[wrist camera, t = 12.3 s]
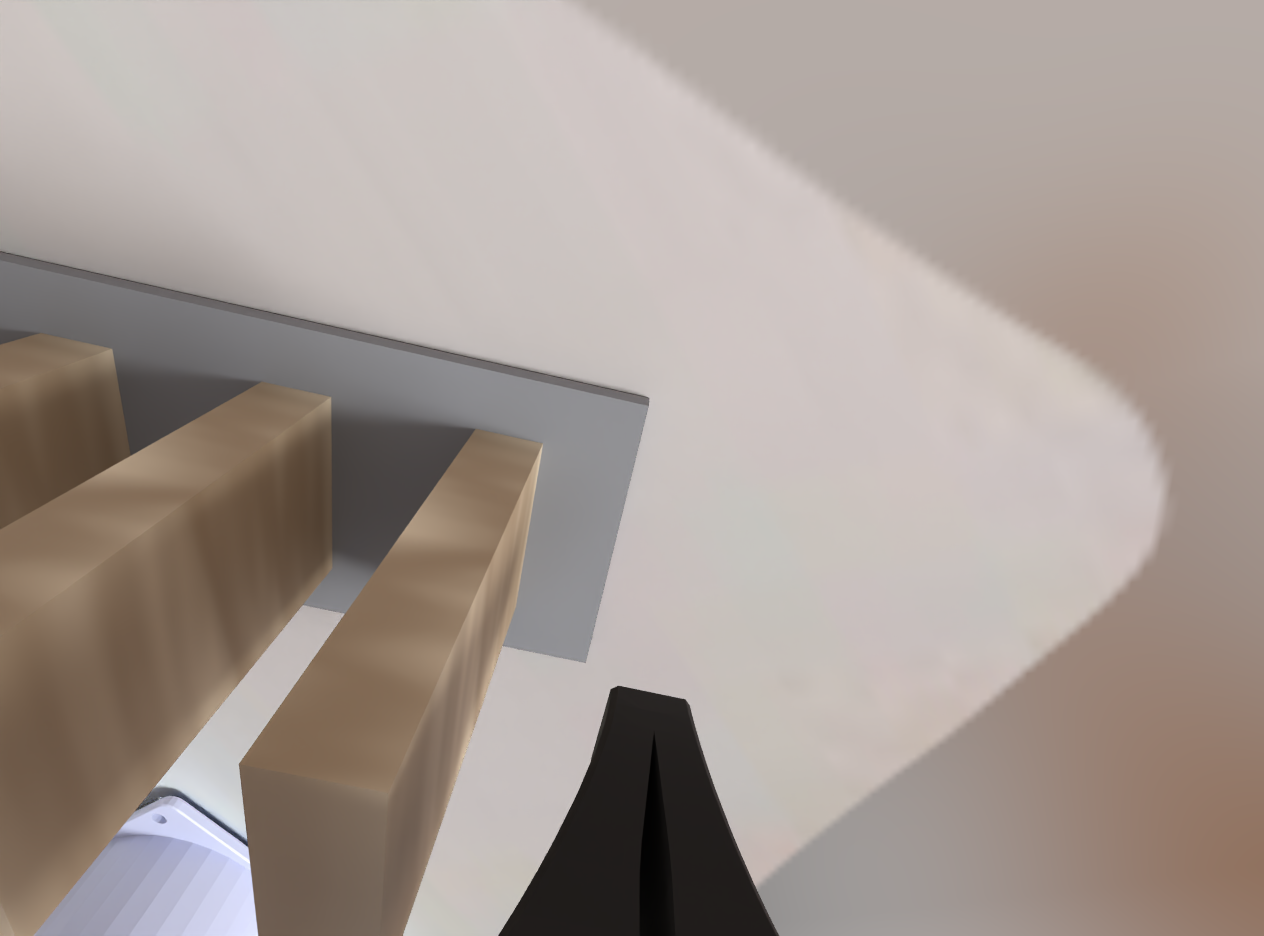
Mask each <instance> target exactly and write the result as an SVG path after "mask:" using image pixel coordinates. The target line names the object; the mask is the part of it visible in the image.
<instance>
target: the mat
mask: <svg viewBox="0 0 1264 936" xmlns="http://www.w3.org/2000/svg"><path fill="white" fill-rule="evenodd" d="M39 333H43V334H48V335H52V336H57V337H61V338H66V339H71V340H75V341H80V342H84V343H89V344H93V345H98V346H102V347H107V348H111V349H112V350H113V356H114V362H115V367H116V373H117V379H118V385H119V391H120V396H121V402H122V408H123V414H124V420H125V425H126V431H127V437H128V443H129V449H130V454H131V455H133V454H135V453H137V452H138V451H140V450H142V449H144V448H146V447H147V446H149V445H151V444H153V443H154V442H156V441H158V440H160V439H161V438H163V437H165V436H167V435H169V434H170V433H172V432H174V431H176V430H177V429H179V428H181V427H183V426H184V425H186V424H188V423H190V422H192V421H193V420H195V419H197V418H199V417H200V416H202V415H204V414H206V413H207V412H209V411H211V410H213V409H215V408H216V407H218V406H220V405H222V404H223V403H225V402H227V401H229V400H230V399H232V398H234V397H236V396H238V395H239V394H241V393H243V392H245V391H246V390H248V389H250V388H252V387H253V386H255V385H257V384H259V383H261V382H266V383H270V384H275V385H279V386H284V387H288V388H293V389H298V390H302V391H307V392H311V393H316V394H320V395H325V396H329V397H331V432H332V569H331V571H330V572H329V573H328V574H327V576H326V577H325V578H324V579H323V580H322V582H321V583H320V584H319V585H318V587H317V588H316V589H315V590H314V592H313V593H312V594H311V595H310V596H309V598H308V599H307V600H306V601H305V603H304V604H303V605H306V606H310V607H315V608H320V609H325V610H330V611H335V612H340V613H346V612H347V610H348V609H349V608H350V606H351V605H352V603H353V602H354V601H355V599H356V598H357V596H358V595H359V593H360V592H361V591H362V589H363V588H364V586H365V585H366V584H367V582H368V581H369V579H370V578H371V577H372V575H373V574H374V572H375V571H376V569H377V568H378V567H379V565H380V564H381V562H382V561H383V560H384V558H385V557H386V555H387V554H388V552H389V551H390V550H391V548H392V547H393V545H394V544H395V543H396V541H397V540H398V538H399V537H400V535H401V534H402V533H403V531H404V530H405V528H406V527H407V526H408V524H409V523H410V521H411V520H412V518H413V517H414V516H415V514H416V513H417V511H418V510H419V509H420V507H421V506H422V504H423V503H424V501H425V500H426V499H427V497H428V496H429V494H430V493H431V492H432V490H433V489H434V487H435V486H436V485H437V483H438V482H439V480H440V479H441V477H442V476H443V475H444V473H445V472H446V470H447V469H448V468H449V466H450V465H451V463H452V462H453V460H454V459H455V458H456V456H457V455H458V453H459V452H460V451H461V449H462V448H463V446H464V445H465V443H466V442H467V441H468V439H469V438H470V436H471V435H472V434H473V432H474V431H475V429H479V430H484V431H488V432H493V433H497V434H502V435H506V436H511V437H515V438H520V439H525V440H529V441H534V442H538V443H543V447H542V453H541V459H540V465H539V471H538V477H537V483H536V489H535V495H534V501H533V507H532V513H531V519H530V525H529V531H528V537H527V543H526V549H525V555H524V561H523V567H522V573H521V579H520V585H519V591H518V597H517V603H516V608H515V611H514V614H513V616H512V619H511V622H510V625H509V628H508V631H507V634H506V637H505V640H504V643H503V646H506V647H510V648H515V649H520V650H525V651H530V652H535V653H540V654H545V655H549V656H554V657H559V658H564V659H569V660H574V661H579V662H584V663H586V659H587V655H588V651H589V647H590V643H591V639H592V635H593V631H594V627H595V622H596V618H597V614H598V610H599V606H600V602H601V598H602V594H603V590H604V586H605V582H606V578H607V573H608V569H609V565H610V561H611V557H612V553H613V549H614V545H615V541H616V537H617V533H618V529H619V524H620V520H621V516H622V512H623V508H624V504H625V500H626V496H627V492H628V488H629V484H630V480H631V476H632V471H633V467H634V463H635V459H636V455H637V451H638V447H639V443H640V439H641V435H642V431H643V427H644V422H645V418H646V414H647V410H648V406H649V398H646V397H642V396H637V395H633V394H629V393H624V392H620V391H615V390H611V389H606V388H602V387H598V386H593V385H589V384H584V383H580V382H575V381H571V380H566V379H562V378H558V377H553V376H549V375H544V374H540V373H535V372H531V371H527V370H522V369H518V368H513V367H509V366H504V365H500V364H495V363H491V362H487V361H482V360H478V359H473V358H469V357H464V356H460V355H456V354H451V353H447V352H442V351H438V350H433V349H429V348H424V347H420V346H416V345H411V344H407V343H402V342H398V341H393V340H389V339H384V338H380V337H376V336H371V335H367V334H362V333H358V332H353V331H349V330H345V329H340V328H336V327H331V326H327V325H322V324H318V323H313V322H309V321H305V320H300V319H296V318H291V317H287V316H282V315H278V314H274V313H269V312H265V311H260V310H256V309H251V308H247V307H242V306H238V305H234V304H229V303H225V302H220V301H216V300H211V299H207V298H202V297H198V296H194V295H189V294H185V293H180V292H176V291H171V290H167V289H163V288H158V287H154V286H149V285H145V284H140V283H136V282H131V281H127V280H123V279H118V278H114V277H109V276H105V275H100V274H96V273H92V272H87V271H83V270H78V269H74V268H69V267H65V266H60V265H56V264H52V263H47V262H43V261H38V260H34V259H29V258H25V257H20V256H16V255H12V254H7V253H3V252H0V345H1V344H5V343H8V342H11V341H15V340H18V339H22V338H25V337H29V336H32V335H36V334H39Z"/></svg>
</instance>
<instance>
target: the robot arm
mask: <svg viewBox="0 0 1264 936" xmlns="http://www.w3.org/2000/svg"><path fill="white" fill-rule="evenodd" d="M34 936H258V931H257V922H256V913H255V904H254V895H253V886H252V877H251V868H250V859H249V850H248V847H247V846H246V845H245V844H243V843H242V842H241V841H239V840H238V839H236V838H235V837H234V836H232V835H231V834H230V833H228V832H227V831H225V830H224V829H223V828H221V827H220V826H219V825H217V824H216V823H215V822H213V821H212V820H210V819H209V818H208V817H206V816H205V815H204V814H202V813H201V812H199V811H198V810H197V809H195V808H194V807H193V806H191V805H190V804H188V803H187V802H186V801H184V800H183V799H181V798H179V797H175V796H167V797H163V798H161V799H159V800H157V801H155V802H153V803H151V804H149V805H147V806H145V807H143V808H141V809H139V810H137V811H135V812H134V813H133V814H132V815H131V816H130V818H129V819H128V820H127V821H126V823H125V824H124V825H123V826H122V827H121V829H120V830H119V831H118V832H117V834H116V835H115V836H114V837H113V839H112V840H111V841H110V842H109V843H108V845H107V846H106V847H105V848H104V850H103V851H102V852H101V853H100V855H99V856H98V857H97V858H96V859H95V861H94V862H93V863H92V864H91V866H90V867H89V868H88V869H87V871H86V872H85V873H84V874H83V875H82V877H81V878H80V879H79V880H78V882H77V883H76V884H75V885H74V886H73V888H72V889H71V890H70V891H69V893H68V894H67V895H66V896H65V898H64V899H63V900H62V901H61V902H60V904H59V905H58V906H57V907H56V909H55V910H54V911H53V912H52V914H51V915H50V916H49V917H48V918H47V920H46V921H45V922H44V923H43V925H42V926H41V927H40V928H39V930H38V931H37V932H36V933H35V934H34ZM498 936H779V935H778V933H777V931H776V929H775V927H774V925H773V923H772V921H771V919H770V917H769V915H768V913H767V911H766V909H765V906H764V904H763V902H762V900H761V898H760V896H759V894H758V892H757V889H756V887H755V885H754V883H753V881H752V878H751V876H750V874H749V872H748V869H747V867H746V865H745V862H744V860H743V858H742V856H741V853H740V851H739V849H738V846H737V844H736V841H735V839H734V837H733V834H732V832H731V829H730V827H729V824H728V821H727V819H726V816H725V813H724V811H723V808H722V806H721V803H720V800H719V798H718V795H717V793H716V790H715V787H714V784H713V781H712V779H711V776H710V773H709V770H708V767H707V764H706V761H705V758H704V755H703V751H702V748H701V745H700V742H699V738H698V735H697V732H696V728H695V724H694V721H693V717H692V713H691V709H690V705H689V704H688V702H687V701H686V700H685V699H680V698H675V697H671V696H666V695H661V694H656V693H651V692H646V691H641V690H637V689H632V688H627V687H622V686H617V687H615V688H612V689H611V690H610V694H609V698H608V701H607V705H606V708H605V712H604V715H603V719H602V722H601V726H600V729H599V733H598V737H597V740H596V744H595V747H594V751H593V754H592V758H591V763H590V765H589V767H588V770H587V772H586V775H585V777H584V779H583V782H582V784H581V786H580V789H579V791H578V793H577V795H576V797H575V800H574V802H573V804H572V806H571V808H570V810H569V812H568V814H567V816H566V818H565V820H564V822H563V824H562V826H561V828H560V830H559V832H558V834H557V836H556V838H555V840H554V841H553V843H552V845H551V847H550V849H549V851H548V853H547V854H546V856H545V858H544V860H543V862H542V864H541V865H540V867H539V869H538V871H537V872H536V874H535V876H534V878H533V879H532V881H531V883H530V885H529V886H528V888H527V890H526V891H525V893H524V895H523V897H522V898H521V900H520V902H519V903H518V905H517V907H516V908H515V910H514V911H513V913H512V915H511V916H510V918H509V919H508V921H507V923H506V924H505V926H504V927H503V929H502V931H501V932H500V934H499V935H498Z"/></svg>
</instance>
